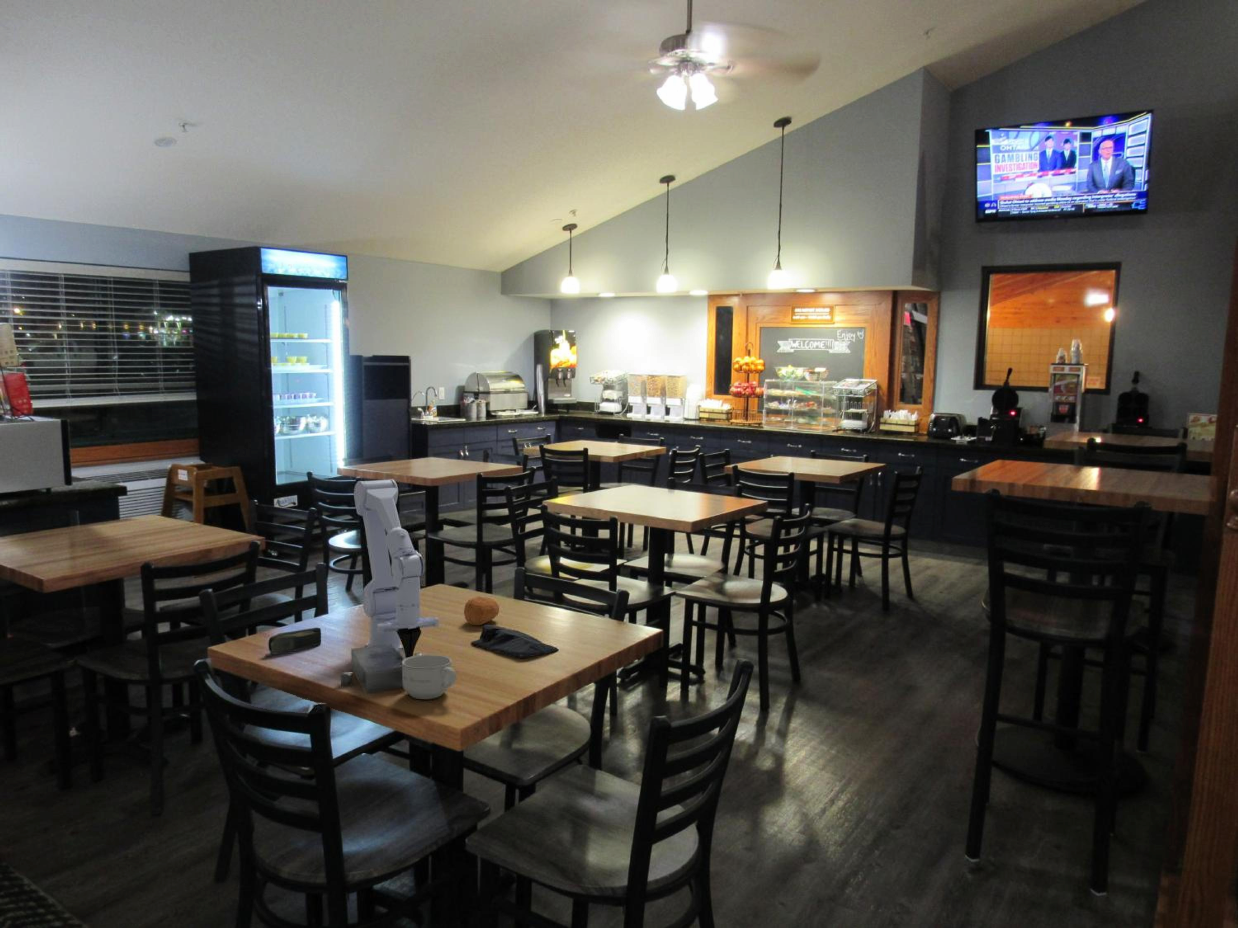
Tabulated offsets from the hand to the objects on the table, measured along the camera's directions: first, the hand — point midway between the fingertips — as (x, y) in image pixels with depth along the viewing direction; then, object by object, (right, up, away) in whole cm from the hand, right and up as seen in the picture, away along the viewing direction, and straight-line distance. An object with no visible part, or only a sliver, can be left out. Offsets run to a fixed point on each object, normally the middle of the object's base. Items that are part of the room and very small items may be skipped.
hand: (408, 657), depth 207 cm
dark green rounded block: (-32, -1, +11) cm, 34 cm away
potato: (+12, +2, +37) cm, 39 cm away
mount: (-5, -3, -8) cm, 10 cm away
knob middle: (0, -2, -6) cm, 6 cm away
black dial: (-11, -3, -13) cm, 17 cm away
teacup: (+10, -4, -20) cm, 23 cm away
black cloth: (+24, -1, +15) cm, 28 cm away
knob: (-5, -1, -2) cm, 6 cm away
